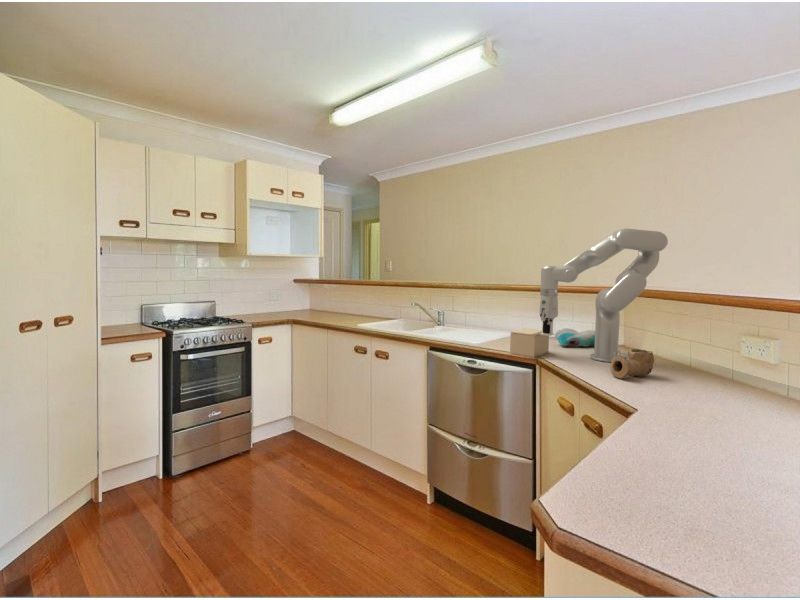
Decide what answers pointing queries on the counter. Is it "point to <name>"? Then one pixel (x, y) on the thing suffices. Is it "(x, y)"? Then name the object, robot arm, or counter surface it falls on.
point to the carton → (529, 344)
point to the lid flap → (534, 331)
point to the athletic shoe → (575, 337)
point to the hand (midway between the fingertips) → (547, 332)
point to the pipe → (633, 364)
